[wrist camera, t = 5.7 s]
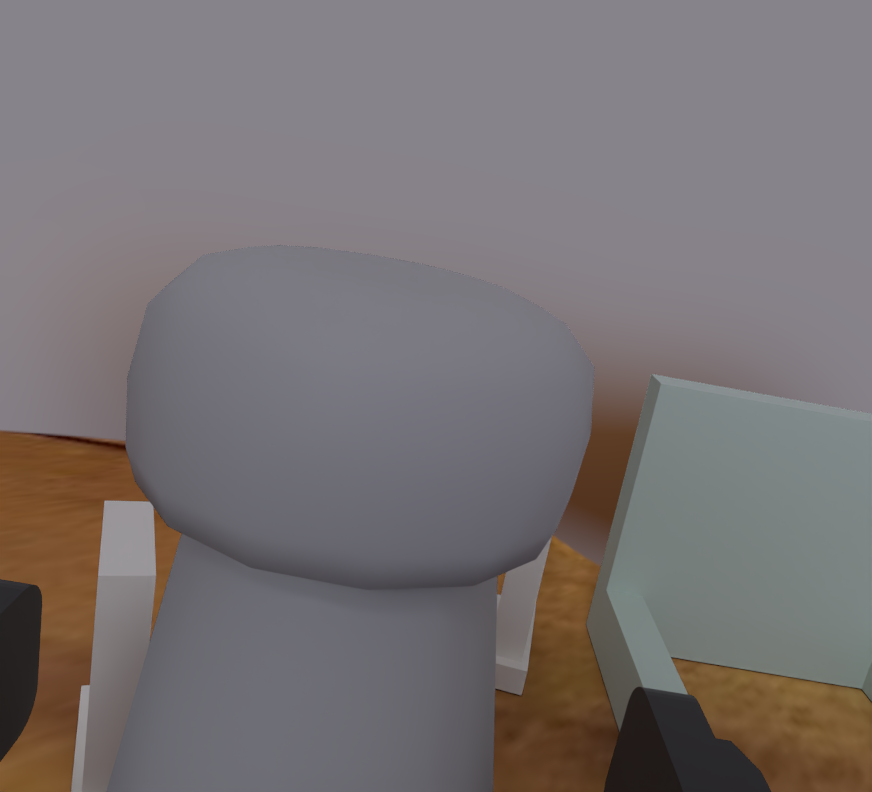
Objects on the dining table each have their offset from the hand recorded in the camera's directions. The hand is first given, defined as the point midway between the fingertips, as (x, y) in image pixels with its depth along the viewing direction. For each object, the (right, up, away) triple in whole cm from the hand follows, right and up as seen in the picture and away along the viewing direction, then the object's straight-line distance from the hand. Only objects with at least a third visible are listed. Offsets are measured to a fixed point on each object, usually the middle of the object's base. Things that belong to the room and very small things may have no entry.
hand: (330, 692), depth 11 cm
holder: (+12, -6, +12) cm, 18 cm away
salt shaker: (-1, -7, 0) cm, 7 cm away
